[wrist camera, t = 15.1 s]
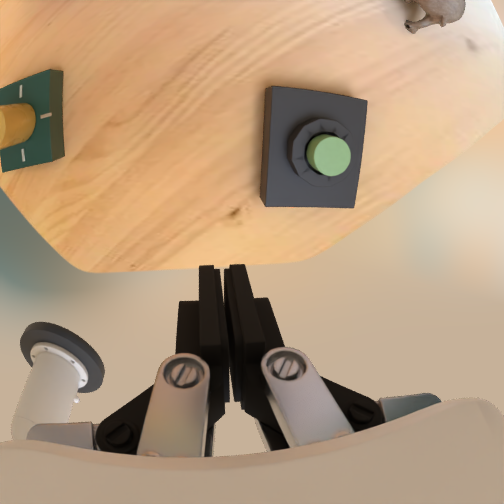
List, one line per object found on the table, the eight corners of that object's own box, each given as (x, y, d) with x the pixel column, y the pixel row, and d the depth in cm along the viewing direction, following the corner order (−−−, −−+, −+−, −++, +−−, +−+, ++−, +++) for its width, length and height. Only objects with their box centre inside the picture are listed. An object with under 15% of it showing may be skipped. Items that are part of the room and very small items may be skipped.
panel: (67, 155, 25) (53, 161, 22) (14, 166, 23) (-1, 173, 21) (65, 70, 20) (51, 68, 17) (10, 89, 19) (-5, 90, 16)
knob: (36, 98, 18) (3, 101, 13) (36, 138, 20) (4, 148, 15) (7, 108, 18) (-26, 113, 13) (9, 146, 20) (-23, 158, 15)
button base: (342, 199, 32) (361, 214, 28) (259, 197, 31) (268, 213, 26) (353, 100, 26) (377, 100, 22) (265, 88, 25) (276, 83, 21)
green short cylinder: (339, 172, 26) (348, 177, 24) (304, 170, 25) (311, 175, 23) (343, 136, 24) (353, 139, 22) (307, 132, 23) (315, 134, 22)
